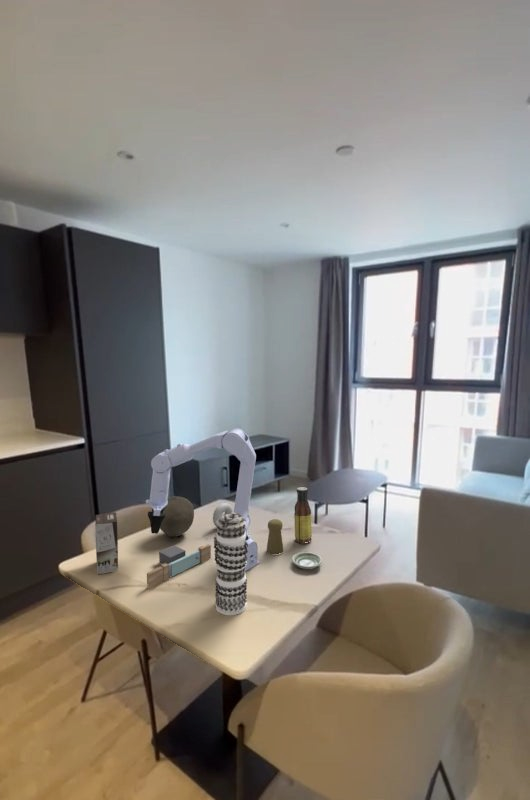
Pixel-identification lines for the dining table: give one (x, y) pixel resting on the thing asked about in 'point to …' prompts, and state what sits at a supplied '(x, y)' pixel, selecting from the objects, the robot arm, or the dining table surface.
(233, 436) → the robot arm
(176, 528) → the cantaloupe
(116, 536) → the coffee box
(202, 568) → the dining table surface
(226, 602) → the decorative candle
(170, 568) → the light blue bar
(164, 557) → the doorstop
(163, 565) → the tan wooden flat bar
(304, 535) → the sauce bottle
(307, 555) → the saucer
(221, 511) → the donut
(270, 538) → the cork
